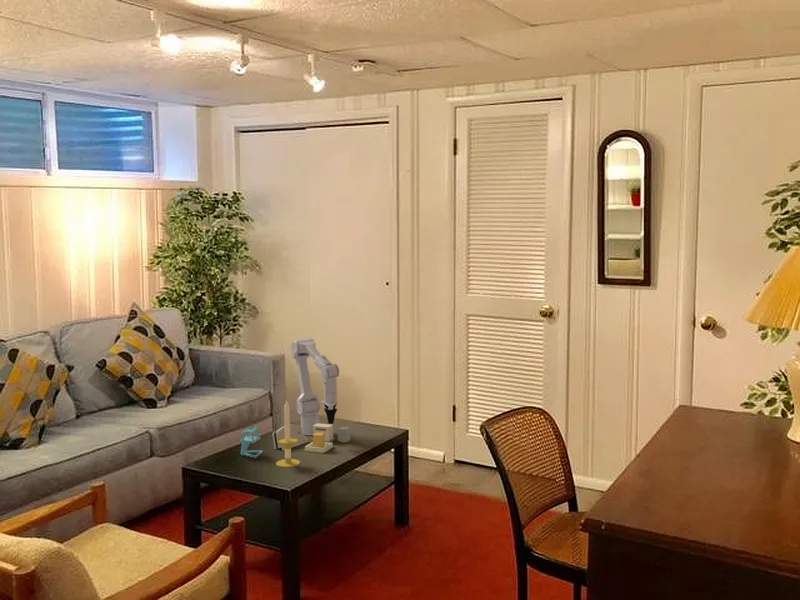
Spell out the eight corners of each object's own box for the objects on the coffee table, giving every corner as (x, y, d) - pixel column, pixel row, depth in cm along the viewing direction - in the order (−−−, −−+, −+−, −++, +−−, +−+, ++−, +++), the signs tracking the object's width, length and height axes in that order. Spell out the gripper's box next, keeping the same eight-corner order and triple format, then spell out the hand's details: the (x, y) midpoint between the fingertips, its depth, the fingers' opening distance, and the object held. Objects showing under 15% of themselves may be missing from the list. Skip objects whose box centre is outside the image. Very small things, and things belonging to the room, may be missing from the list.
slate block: (341, 439, 360) (341, 426, 359) (349, 440, 359) (349, 427, 358) (338, 441, 356) (337, 428, 356) (346, 442, 355) (345, 429, 354)
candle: (301, 466, 322) (299, 401, 319) (276, 468, 320) (274, 403, 317) (299, 458, 332) (298, 396, 329) (275, 460, 330) (273, 397, 327)
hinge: (282, 450, 343) (276, 428, 344) (275, 452, 346) (269, 430, 347) (308, 441, 357) (302, 420, 358) (301, 443, 360) (295, 422, 360)
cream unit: (317, 437, 362) (317, 422, 362) (335, 439, 359) (334, 424, 358) (311, 441, 357) (310, 425, 356) (329, 443, 354) (328, 427, 353)
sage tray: (314, 445, 351) (314, 440, 351) (332, 447, 348) (332, 442, 348) (304, 450, 343) (304, 446, 343) (323, 453, 340) (323, 448, 339)
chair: (245, 451, 343) (244, 424, 342) (263, 452, 341) (262, 425, 340) (237, 456, 336) (236, 429, 334) (255, 457, 334) (254, 430, 332)
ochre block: (324, 446, 347) (324, 433, 346) (321, 448, 343) (321, 435, 342) (316, 445, 348) (316, 432, 347) (313, 448, 344) (312, 434, 343)
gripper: (321, 388, 358) (321, 417, 360) (321, 395, 344) (321, 426, 346) (336, 387, 359) (337, 417, 361) (337, 395, 345) (338, 425, 346)
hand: (330, 421), depth 353 cm, fingers open, 7 cm apart
